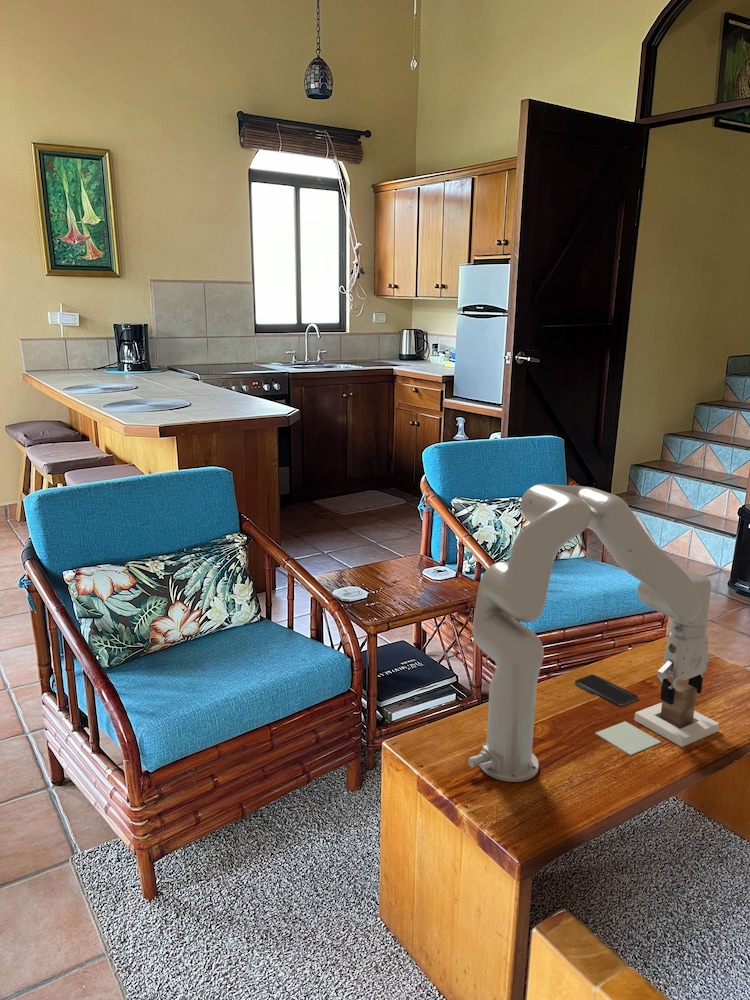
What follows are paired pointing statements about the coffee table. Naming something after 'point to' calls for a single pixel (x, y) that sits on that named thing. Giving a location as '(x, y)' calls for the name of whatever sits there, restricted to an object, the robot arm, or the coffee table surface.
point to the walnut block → (680, 706)
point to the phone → (606, 690)
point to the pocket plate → (678, 736)
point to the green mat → (628, 738)
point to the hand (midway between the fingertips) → (680, 696)
